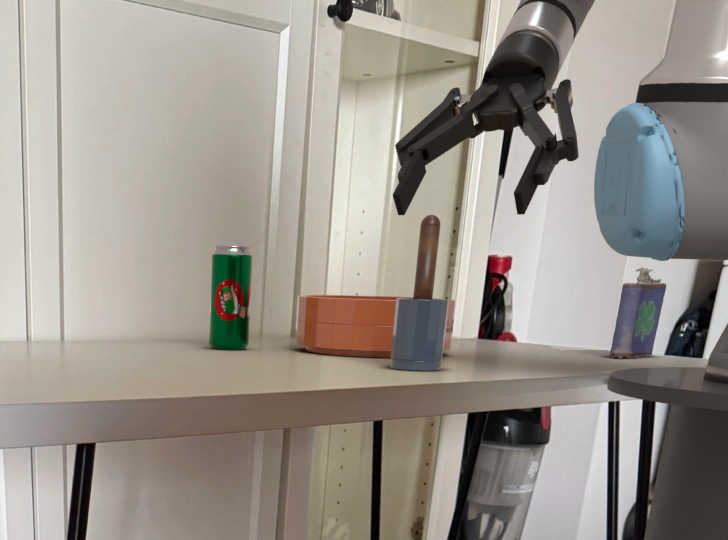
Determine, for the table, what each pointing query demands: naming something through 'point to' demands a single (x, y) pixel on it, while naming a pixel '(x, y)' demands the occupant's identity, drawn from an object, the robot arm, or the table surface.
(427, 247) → the stirring stick
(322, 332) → the bowl
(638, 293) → the flask
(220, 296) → the soda can
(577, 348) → the table surface
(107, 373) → the table surface
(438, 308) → the crock
